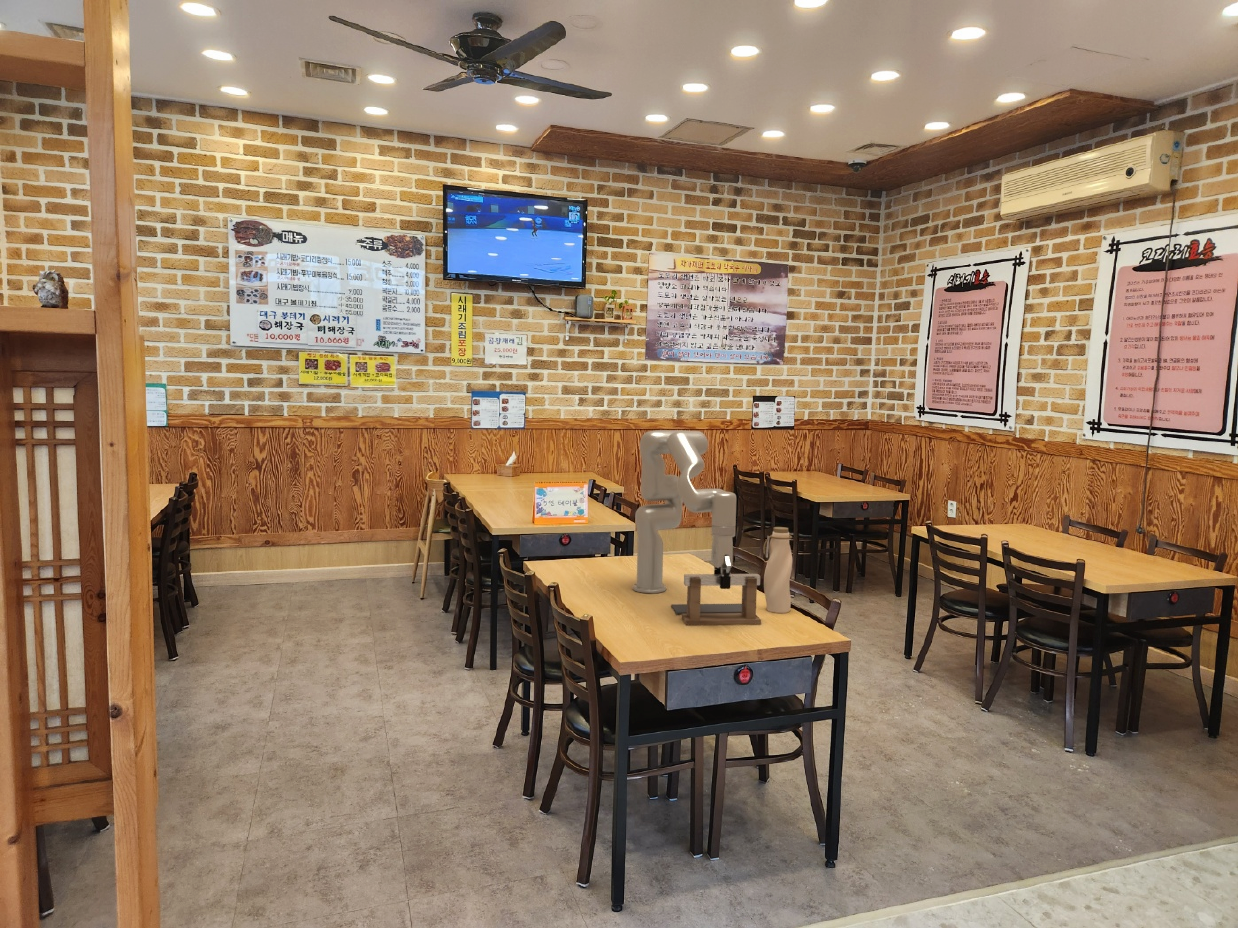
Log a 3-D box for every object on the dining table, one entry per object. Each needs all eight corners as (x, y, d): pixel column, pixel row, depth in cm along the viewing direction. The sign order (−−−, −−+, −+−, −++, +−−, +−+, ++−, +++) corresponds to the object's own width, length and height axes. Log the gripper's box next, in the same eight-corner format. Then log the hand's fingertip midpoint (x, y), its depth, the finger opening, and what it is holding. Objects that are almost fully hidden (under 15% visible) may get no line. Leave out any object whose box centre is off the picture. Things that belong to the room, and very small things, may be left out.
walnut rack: (681, 618, 256) (682, 574, 254) (754, 617, 258) (755, 573, 257) (686, 625, 248) (687, 579, 247) (760, 624, 250) (762, 579, 249)
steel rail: (683, 583, 252) (684, 574, 252) (757, 582, 255) (757, 573, 254) (685, 585, 249) (685, 576, 249) (759, 585, 252) (760, 575, 252)
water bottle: (768, 614, 262) (771, 531, 259) (756, 607, 270) (759, 526, 268) (796, 612, 264) (799, 530, 262) (784, 605, 273) (786, 525, 270)
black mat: (671, 606, 270) (671, 604, 269) (745, 605, 272) (745, 603, 272) (676, 614, 260) (676, 612, 260) (753, 613, 262) (753, 611, 262)
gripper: (705, 526, 259) (704, 579, 260) (718, 535, 241) (716, 592, 243) (728, 526, 260) (726, 578, 261) (742, 535, 242) (740, 592, 244)
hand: (721, 585), depth 252 cm, fingers open, 7 cm apart
